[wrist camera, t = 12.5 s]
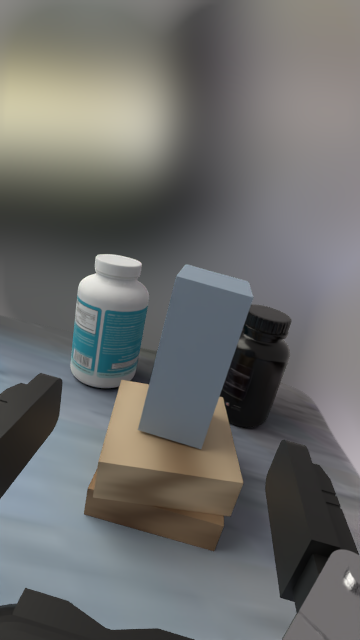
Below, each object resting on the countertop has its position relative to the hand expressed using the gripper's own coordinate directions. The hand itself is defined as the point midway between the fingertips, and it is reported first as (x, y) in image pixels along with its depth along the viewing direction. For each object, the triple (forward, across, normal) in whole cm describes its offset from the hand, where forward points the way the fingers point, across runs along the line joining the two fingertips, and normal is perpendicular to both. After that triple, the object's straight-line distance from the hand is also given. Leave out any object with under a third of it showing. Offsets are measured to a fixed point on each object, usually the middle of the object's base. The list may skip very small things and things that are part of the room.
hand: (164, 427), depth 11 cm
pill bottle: (+23, +9, +13) cm, 28 cm away
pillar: (+11, 0, +8) cm, 13 cm away
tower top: (+10, 0, +11) cm, 15 cm away
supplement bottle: (+23, -7, +13) cm, 27 cm away
